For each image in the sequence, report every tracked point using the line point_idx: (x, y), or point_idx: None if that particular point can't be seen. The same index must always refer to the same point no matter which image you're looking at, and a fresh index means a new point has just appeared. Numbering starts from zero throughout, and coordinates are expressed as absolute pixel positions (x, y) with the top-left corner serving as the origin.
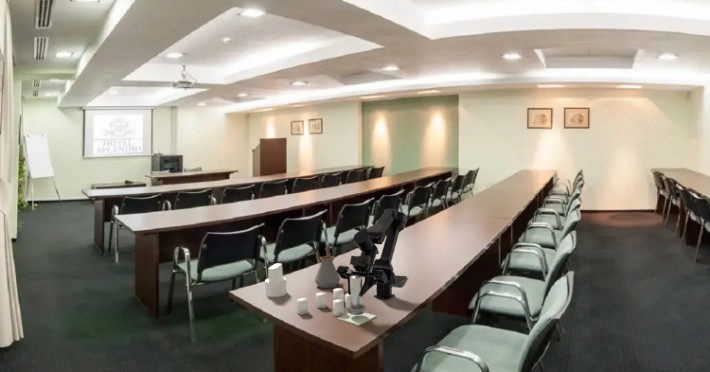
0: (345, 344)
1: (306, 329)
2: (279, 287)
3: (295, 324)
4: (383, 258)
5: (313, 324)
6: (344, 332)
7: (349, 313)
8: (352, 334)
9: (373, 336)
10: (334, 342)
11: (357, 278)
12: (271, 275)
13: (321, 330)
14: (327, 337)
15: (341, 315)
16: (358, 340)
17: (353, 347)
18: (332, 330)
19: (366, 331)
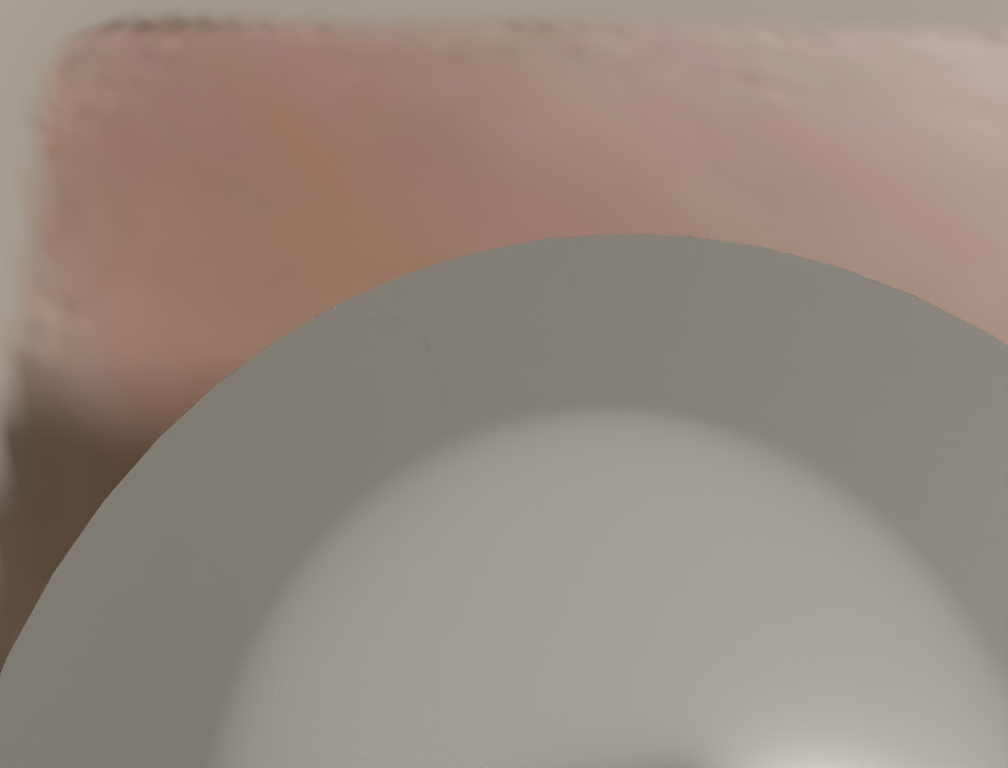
0: (193, 58)
1: (781, 44)
2: None
3: (1003, 50)
4: None
5: (850, 166)
6: (380, 230)
7: None
8: (268, 247)
9: (25, 350)
10: (310, 27)
11: (156, 493)
12: None
13: (631, 118)
14: (445, 53)
15: None
16: (126, 184)
17: (91, 62)
18: (532, 187)
19: (169, 405)
